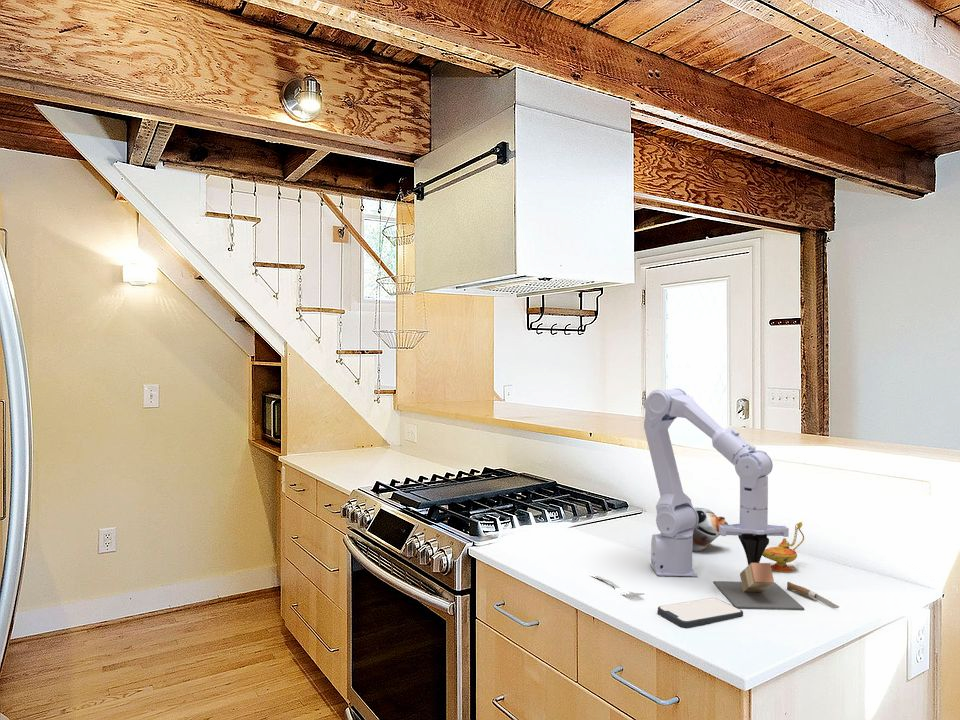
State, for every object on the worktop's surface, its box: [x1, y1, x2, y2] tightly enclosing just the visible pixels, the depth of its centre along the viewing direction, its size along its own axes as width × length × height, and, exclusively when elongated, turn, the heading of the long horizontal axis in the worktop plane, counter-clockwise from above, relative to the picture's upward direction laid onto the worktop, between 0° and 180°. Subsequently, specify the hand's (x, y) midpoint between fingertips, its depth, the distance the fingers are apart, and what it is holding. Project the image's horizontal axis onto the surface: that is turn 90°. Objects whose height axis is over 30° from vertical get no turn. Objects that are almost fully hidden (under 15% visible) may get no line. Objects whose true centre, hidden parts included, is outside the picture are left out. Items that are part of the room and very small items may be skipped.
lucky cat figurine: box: [692, 507, 730, 553], centre depth 181 cm, size 15×12×14 cm
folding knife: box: [786, 581, 840, 609], centre depth 145 cm, size 14×2×2 cm, turn 22°
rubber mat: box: [712, 580, 805, 611], centre depth 146 cm, size 14×15×1 cm
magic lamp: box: [761, 521, 805, 573], centre depth 164 cm, size 7×18×11 cm, turn 112°
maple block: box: [739, 562, 775, 592], centre depth 145 cm, size 4×4×8 cm
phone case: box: [657, 597, 744, 629], centre depth 136 cm, size 9×2×16 cm
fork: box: [595, 575, 645, 597], centre depth 154 cm, size 3×24×2 cm, turn 26°
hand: (753, 568), depth 148 cm, fingers closed, pressing on maple block
